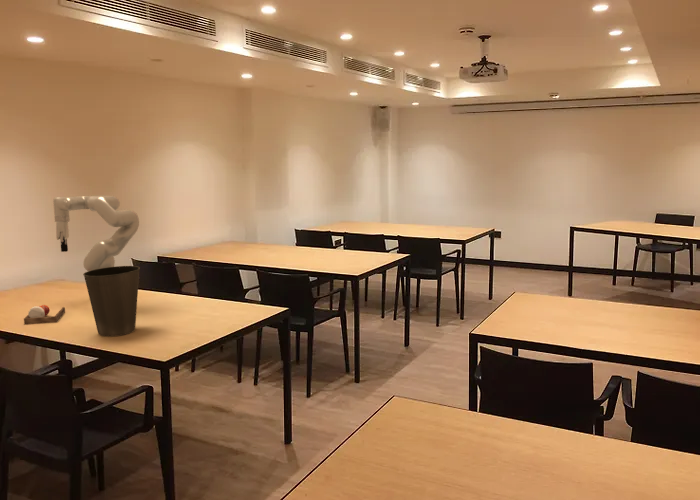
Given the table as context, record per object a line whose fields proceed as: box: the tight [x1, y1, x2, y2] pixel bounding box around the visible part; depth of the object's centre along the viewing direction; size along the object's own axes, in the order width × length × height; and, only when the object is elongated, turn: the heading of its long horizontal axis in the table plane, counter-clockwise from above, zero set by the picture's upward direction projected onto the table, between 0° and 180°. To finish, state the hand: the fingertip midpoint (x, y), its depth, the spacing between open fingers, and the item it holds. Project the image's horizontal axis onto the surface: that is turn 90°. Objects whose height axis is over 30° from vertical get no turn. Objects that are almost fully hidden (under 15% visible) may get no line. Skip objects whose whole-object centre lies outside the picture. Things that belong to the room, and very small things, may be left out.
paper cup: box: [27, 304, 51, 318], centre depth 313 cm, size 8×8×14 cm
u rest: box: [23, 306, 66, 325], centre depth 314 cm, size 15×21×3 cm
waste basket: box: [83, 265, 141, 337], centre depth 286 cm, size 27×20×30 cm
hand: (64, 251), depth 338 cm, fingers closed
